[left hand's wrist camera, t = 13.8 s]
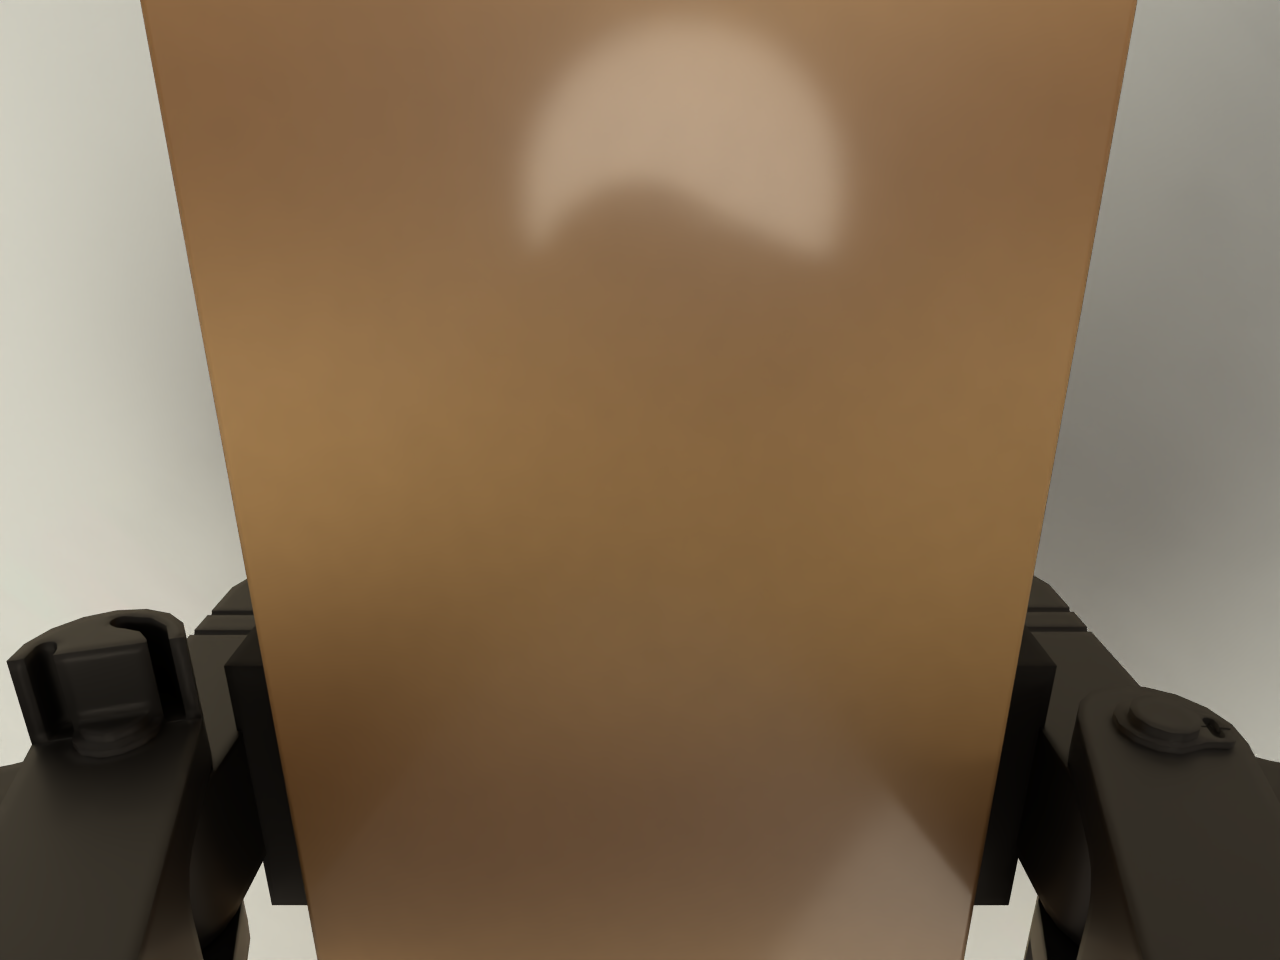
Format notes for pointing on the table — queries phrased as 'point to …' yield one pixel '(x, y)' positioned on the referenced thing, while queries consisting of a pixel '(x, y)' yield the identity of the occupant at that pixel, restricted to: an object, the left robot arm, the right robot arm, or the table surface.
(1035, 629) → the left robot arm
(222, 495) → the table surface
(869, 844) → the post
